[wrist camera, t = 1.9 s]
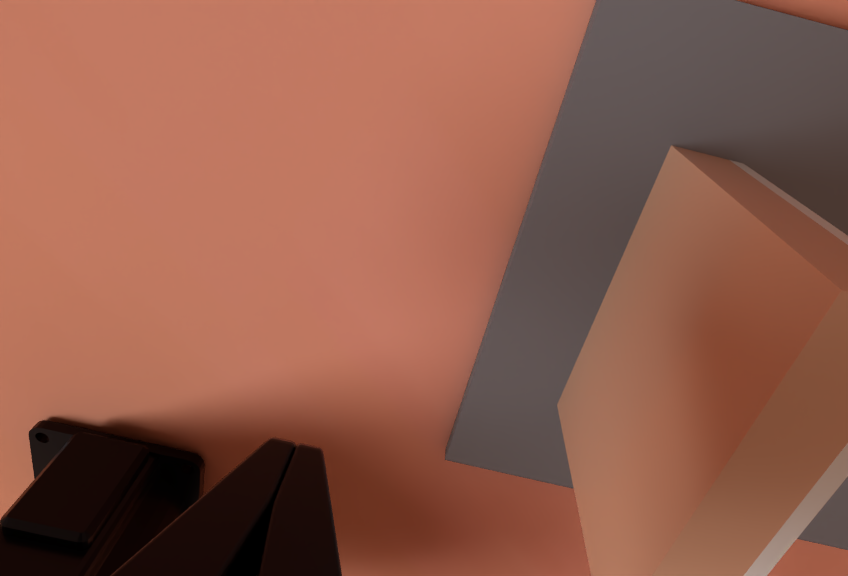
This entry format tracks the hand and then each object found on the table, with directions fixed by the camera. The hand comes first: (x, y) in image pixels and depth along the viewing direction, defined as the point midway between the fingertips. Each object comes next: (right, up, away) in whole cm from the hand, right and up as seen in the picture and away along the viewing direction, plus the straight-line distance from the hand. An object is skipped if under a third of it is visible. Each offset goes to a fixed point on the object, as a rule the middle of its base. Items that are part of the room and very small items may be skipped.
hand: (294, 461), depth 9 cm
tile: (+8, +2, +8) cm, 12 cm away
